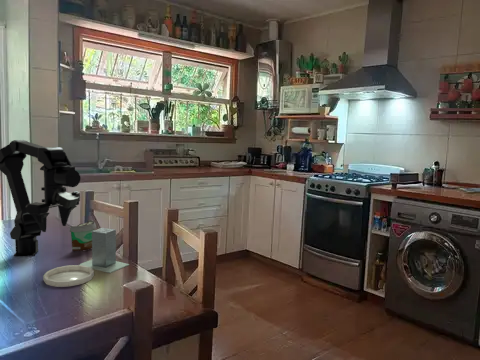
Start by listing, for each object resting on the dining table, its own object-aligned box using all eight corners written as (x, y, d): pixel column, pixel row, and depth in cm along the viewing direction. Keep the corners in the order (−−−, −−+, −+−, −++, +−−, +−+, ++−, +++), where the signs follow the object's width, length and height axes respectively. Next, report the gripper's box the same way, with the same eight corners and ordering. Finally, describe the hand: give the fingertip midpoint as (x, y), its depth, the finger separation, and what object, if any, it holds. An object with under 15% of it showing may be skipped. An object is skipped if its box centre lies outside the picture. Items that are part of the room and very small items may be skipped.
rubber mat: (79, 266, 133) (79, 264, 133) (98, 259, 141) (98, 257, 141) (110, 274, 127) (110, 272, 127) (129, 266, 135) (129, 264, 135)
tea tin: (105, 268, 131) (105, 233, 129) (92, 265, 132) (91, 231, 131) (115, 262, 136) (115, 229, 134) (102, 260, 137) (102, 227, 136)
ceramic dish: (37, 288, 114) (37, 282, 114) (52, 271, 128) (52, 265, 128) (87, 287, 116) (87, 281, 116) (97, 270, 130) (97, 264, 130)
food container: (84, 253, 147) (84, 227, 145) (70, 252, 148) (69, 226, 146) (102, 244, 159) (102, 220, 157) (88, 243, 160) (88, 219, 158)
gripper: (51, 189, 122) (53, 238, 124) (91, 182, 139) (91, 225, 141) (23, 187, 125) (25, 234, 127) (65, 180, 143) (66, 222, 145)
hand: (54, 228), depth 135 cm, fingers open, 9 cm apart
